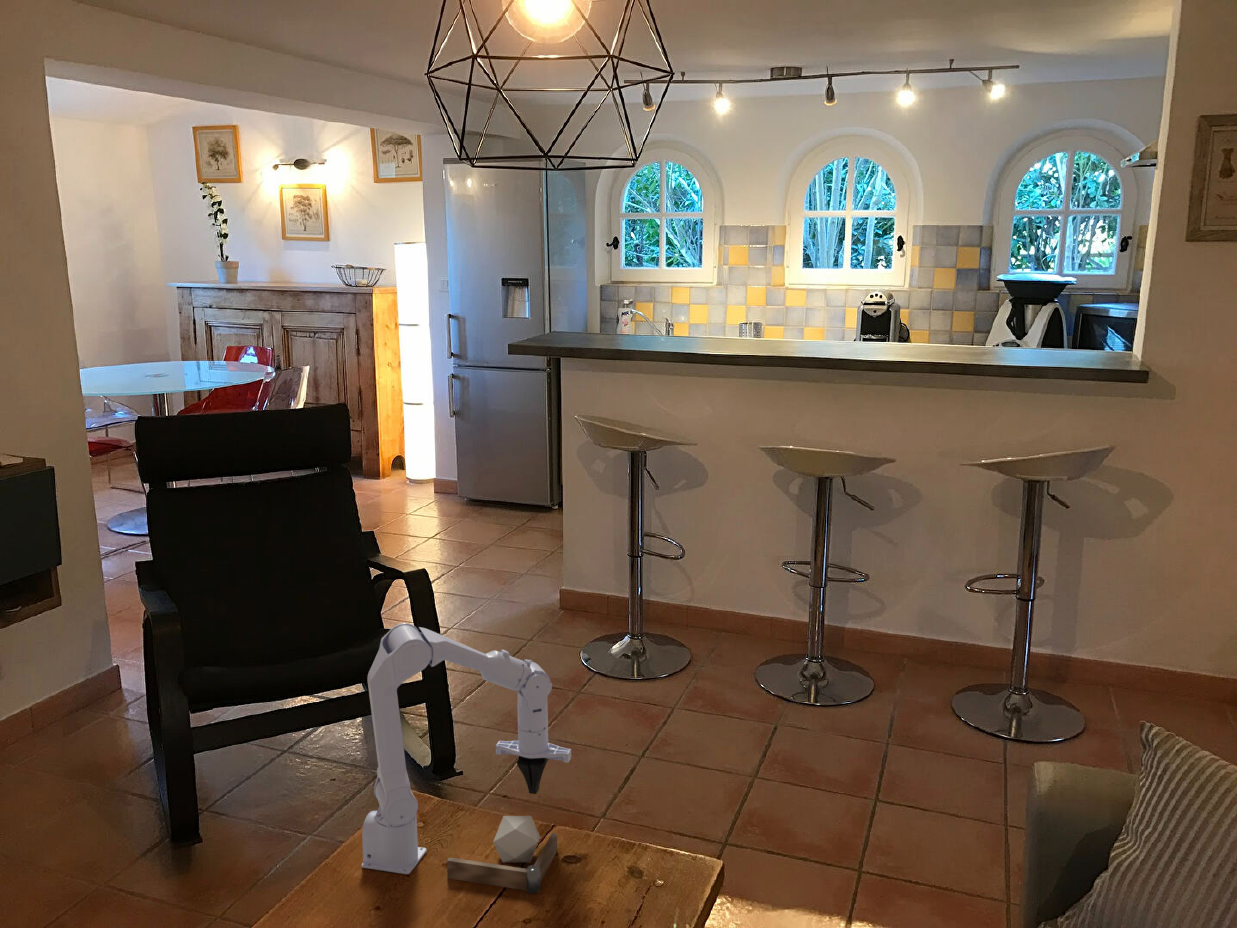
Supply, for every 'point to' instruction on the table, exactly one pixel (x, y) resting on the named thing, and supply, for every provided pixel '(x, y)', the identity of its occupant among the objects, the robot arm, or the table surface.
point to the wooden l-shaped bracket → (505, 870)
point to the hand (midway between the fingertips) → (534, 791)
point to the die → (516, 839)
